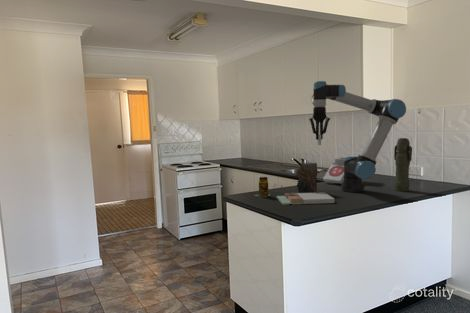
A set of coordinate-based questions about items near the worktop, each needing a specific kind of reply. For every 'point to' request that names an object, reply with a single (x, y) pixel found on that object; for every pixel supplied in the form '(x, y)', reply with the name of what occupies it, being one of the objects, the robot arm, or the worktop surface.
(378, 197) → the worktop surface
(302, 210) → the worktop surface
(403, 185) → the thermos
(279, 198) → the mat
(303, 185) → the knife block
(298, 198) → the terracotta tile
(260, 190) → the condiment
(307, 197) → the pale grey square slab
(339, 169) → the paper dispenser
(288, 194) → the walnut coaster
